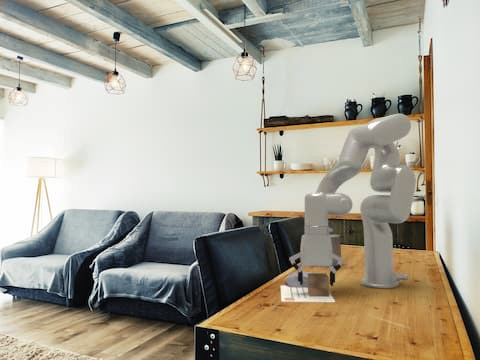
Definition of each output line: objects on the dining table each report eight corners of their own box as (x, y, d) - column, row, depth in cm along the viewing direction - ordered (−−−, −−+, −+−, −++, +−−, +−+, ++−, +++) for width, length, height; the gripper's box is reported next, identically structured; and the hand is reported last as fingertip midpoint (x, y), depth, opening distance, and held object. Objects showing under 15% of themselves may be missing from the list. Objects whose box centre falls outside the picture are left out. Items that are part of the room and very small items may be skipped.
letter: (326, 286, 131) (326, 285, 131) (335, 302, 111) (335, 301, 111) (280, 286, 132) (280, 285, 132) (281, 302, 112) (281, 301, 112)
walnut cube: (326, 291, 123) (326, 273, 123) (329, 296, 117) (328, 277, 117) (308, 291, 124) (307, 273, 124) (309, 296, 118) (309, 277, 118)
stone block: (286, 291, 130) (315, 287, 128) (283, 278, 130) (312, 273, 128) (289, 285, 141) (315, 280, 139) (286, 272, 142) (312, 268, 140)
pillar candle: (339, 263, 173) (338, 231, 174) (343, 267, 164) (341, 233, 164) (318, 263, 174) (317, 231, 175) (320, 267, 165) (319, 233, 165)
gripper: (341, 230, 124) (341, 282, 123) (289, 229, 126) (288, 281, 125) (345, 232, 116) (345, 288, 116) (289, 231, 118) (289, 286, 117)
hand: (316, 284), depth 120 cm, fingers open, 9 cm apart
